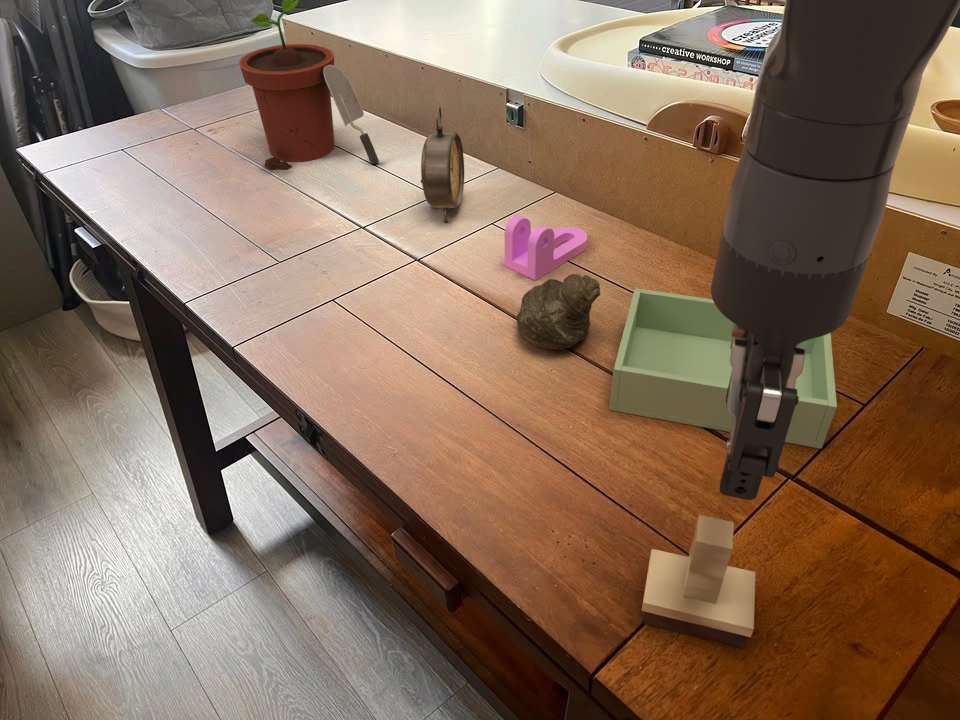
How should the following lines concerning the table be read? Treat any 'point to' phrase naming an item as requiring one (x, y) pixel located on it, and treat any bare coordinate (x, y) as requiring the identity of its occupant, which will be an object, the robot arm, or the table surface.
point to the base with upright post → (701, 588)
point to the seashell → (558, 311)
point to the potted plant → (299, 98)
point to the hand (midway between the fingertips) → (739, 446)
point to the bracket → (540, 247)
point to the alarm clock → (442, 169)
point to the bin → (705, 368)
